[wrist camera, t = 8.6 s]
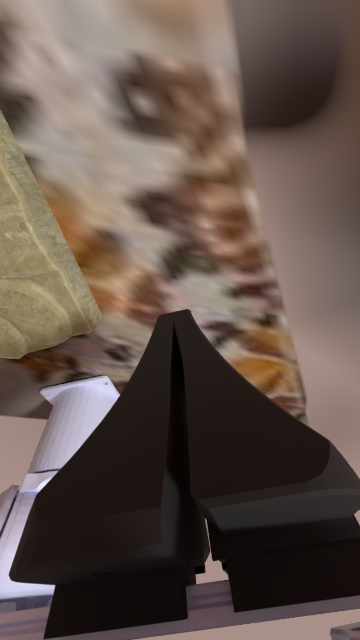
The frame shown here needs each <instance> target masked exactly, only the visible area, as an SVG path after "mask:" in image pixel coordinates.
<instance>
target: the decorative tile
mask: <svg viewBox="0 0 360 640" xmlns="http://www.w3.org/2000/svg"><path fill="white" fill-rule="evenodd" d="M100 318H102V314H101V311H100V309H99V307H98V305H97V303H96V301H95V299H94V297H93V295H92V292H91V290H90V288H89V286H88V284H87V282H86V280H85V278H84V276H83V274H82V272H81V270H80V268H79V266H78V264H77V262H76V259H75V257H74V255H73V253H72V251H71V249H70V247H69V245H68V243H67V241H66V239H65V237H64V235H63V233H62V231H61V229H60V227H59V225H58V223H57V221H56V219H55V217H54V215H53V213H52V211H51V209H50V207H49V205H48V203H47V201H46V199H45V197H44V195H43V193H42V191H41V189H40V187H39V185H38V183H37V181H36V179H35V177H34V175H33V173H32V171H31V169H30V167H29V165H28V163H27V161H26V159H25V157H24V155H23V153H22V151H21V149H20V147H19V145H18V143H17V141H16V139H15V137H14V135H13V133H12V132H11V130H10V128H9V126H8V124H7V122H6V120H5V118H4V116H3V114H2V112H1V110H0V357H1V358H10V359H20V358H21V357H23V356H24V355H25V354H27V353H29V352H34V351H37V350H41V349H46V348H50V347H53V346H55V345H57V344H60V343H62V342H64V341H66V340H67V339H68V338H70V337H72V336H76V335H80V334H88V333H91V332H92V331H93V329H94V328H95V327H96V325H97V324H98V323H99V321H100Z"/></svg>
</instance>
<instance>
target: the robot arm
mask: <svg viewBox="0 0 360 640" xmlns="http://www.w3.org/2000/svg"><path fill="white" fill-rule="evenodd" d="M40 393H41V394H42V395H43V396H44V397H45V398H46V399H47V400H48V401H49V402H50V403H51V404H52V405H53V408H52V411H51V414H50V416H49V419H48V421H47V424H46V426H45V429H44V432H43V434H42V437H41V439H40V442H39V444H38V447H37V450H36V452H35V455H34V457H33V460H32V462H31V465H30V468H29V470H28V473H27V474H26V475H25V478H24V480H23V483H22V485H21V488H20V490H17V489H18V487H19V486H18V485H11V486H10V488H9V489H7V490H6V491H4V492H3V493H2V494H1V495H0V640H132V639H140V638H147V637H154V636H162V635H169V634H176V633H184V632H191V631H198V630H205V629H213V628H220V627H228V626H234V625H242V624H250V623H257V622H264V621H272V620H279V619H286V618H294V617H301V616H308V615H316V614H323V613H330V612H338V611H345V610H353V609H360V525H359V523H358V521H357V520H356V518H355V516H354V514H355V513H356V512H357V511H358V510H360V479H359V478H358V476H357V475H356V473H355V472H354V471H353V469H352V468H351V467H350V465H349V464H348V462H347V461H346V460H345V458H344V457H343V456H342V455H341V453H340V452H339V451H338V450H337V449H336V447H335V446H334V445H333V444H332V443H331V442H330V441H329V440H328V439H327V438H325V437H323V436H322V435H321V434H319V433H317V432H316V431H314V430H313V429H311V428H310V427H308V426H307V425H305V424H304V423H303V422H301V421H300V420H298V419H297V418H295V417H294V416H292V415H291V414H290V413H288V412H287V411H285V410H284V409H283V408H281V407H280V406H279V405H277V404H276V403H274V402H273V401H272V400H271V399H269V398H268V397H267V396H266V395H264V394H263V393H262V392H261V391H259V390H258V389H257V388H256V387H254V386H253V385H252V384H251V383H250V382H248V381H247V380H246V379H245V378H244V377H243V376H242V375H241V374H239V373H238V372H237V371H236V370H235V369H234V368H233V367H232V366H231V365H230V364H229V363H228V362H227V361H226V360H225V359H224V358H223V357H222V356H221V355H220V353H219V352H218V351H217V350H216V349H215V348H214V347H213V345H212V344H211V343H210V342H209V340H208V339H207V338H206V337H205V335H204V334H203V333H202V331H201V330H200V328H199V327H198V325H197V324H196V322H195V320H194V318H193V316H192V314H191V311H190V310H188V309H185V310H181V311H176V312H172V313H167V314H163V315H159V317H158V319H157V322H156V325H155V328H154V330H153V333H152V335H151V338H150V340H149V343H148V345H147V347H146V349H145V352H144V354H143V356H142V358H141V360H140V362H139V364H138V366H137V367H136V369H135V371H134V373H133V375H132V377H131V378H130V380H129V382H128V383H127V385H126V386H125V388H124V390H123V391H122V393H121V394H119V393H118V391H117V390H116V388H115V387H114V385H113V384H112V382H111V381H110V379H109V378H108V377H107V376H99V377H94V378H89V379H84V380H79V381H75V382H70V383H65V384H60V385H55V386H51V387H46V388H42V389H41V391H40ZM205 518H206V520H207V525H208V532H209V540H210V546H209V540H208V535H207V528H206V523H205ZM210 547H211V554H212V560H213V561H217V560H219V561H220V562H221V563H222V568H223V570H224V571H225V572H226V573H227V574H228V578H229V580H223V581H216V582H209V583H203V584H196V576H195V574H201V573H205V564H204V563H205V562H206V560H207V558H208V556H209V553H210ZM29 596H30V597H29ZM18 597H19V598H18ZM330 635H331V638H332V640H360V622H357V623H352V624H348V625H343V626H338V627H334V628H331V631H330Z"/></svg>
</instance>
